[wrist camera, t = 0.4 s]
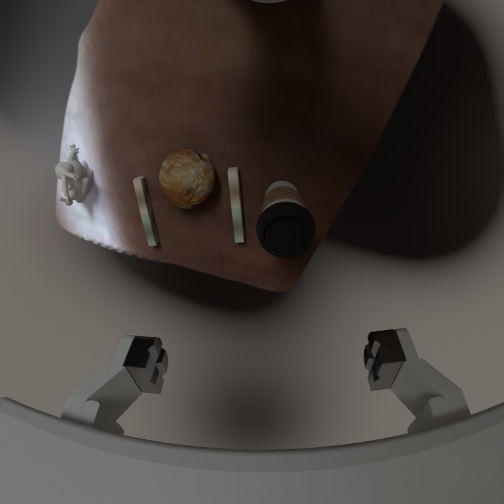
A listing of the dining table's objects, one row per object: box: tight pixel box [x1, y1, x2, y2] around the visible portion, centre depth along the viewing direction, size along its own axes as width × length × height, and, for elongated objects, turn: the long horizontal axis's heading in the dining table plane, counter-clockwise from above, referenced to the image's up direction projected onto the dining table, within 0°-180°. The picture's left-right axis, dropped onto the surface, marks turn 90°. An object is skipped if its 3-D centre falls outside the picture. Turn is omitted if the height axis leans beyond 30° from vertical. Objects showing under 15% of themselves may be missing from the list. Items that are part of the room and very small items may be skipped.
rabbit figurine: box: [55, 144, 93, 206], centre depth 48 cm, size 12×8×10 cm, turn 170°
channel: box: [133, 167, 245, 246], centre depth 55 cm, size 14×19×2 cm
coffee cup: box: [256, 181, 315, 258], centre depth 47 cm, size 8×8×15 cm
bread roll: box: [158, 149, 215, 209], centre depth 49 cm, size 10×10×8 cm
